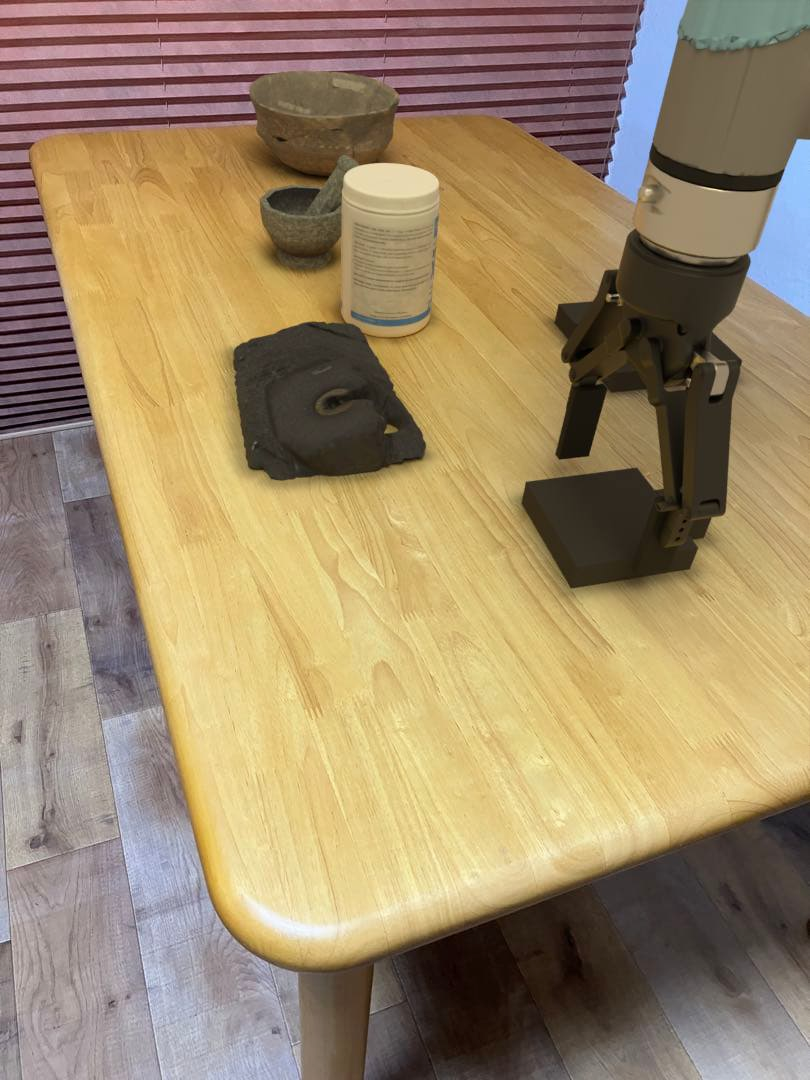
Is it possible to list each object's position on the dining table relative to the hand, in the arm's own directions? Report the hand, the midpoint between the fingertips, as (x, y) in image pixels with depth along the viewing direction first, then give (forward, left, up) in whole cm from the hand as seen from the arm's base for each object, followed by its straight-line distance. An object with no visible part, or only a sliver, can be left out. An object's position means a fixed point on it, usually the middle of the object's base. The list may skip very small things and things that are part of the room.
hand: (608, 508), depth 67 cm
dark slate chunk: (+18, -22, -3) cm, 28 cm away
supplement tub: (+8, -37, -3) cm, 38 cm away
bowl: (+5, -82, -3) cm, 82 cm away
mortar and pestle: (+13, -52, -3) cm, 54 cm away
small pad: (-2, 0, -3) cm, 3 cm away
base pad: (-17, -26, -3) cm, 31 cm away
